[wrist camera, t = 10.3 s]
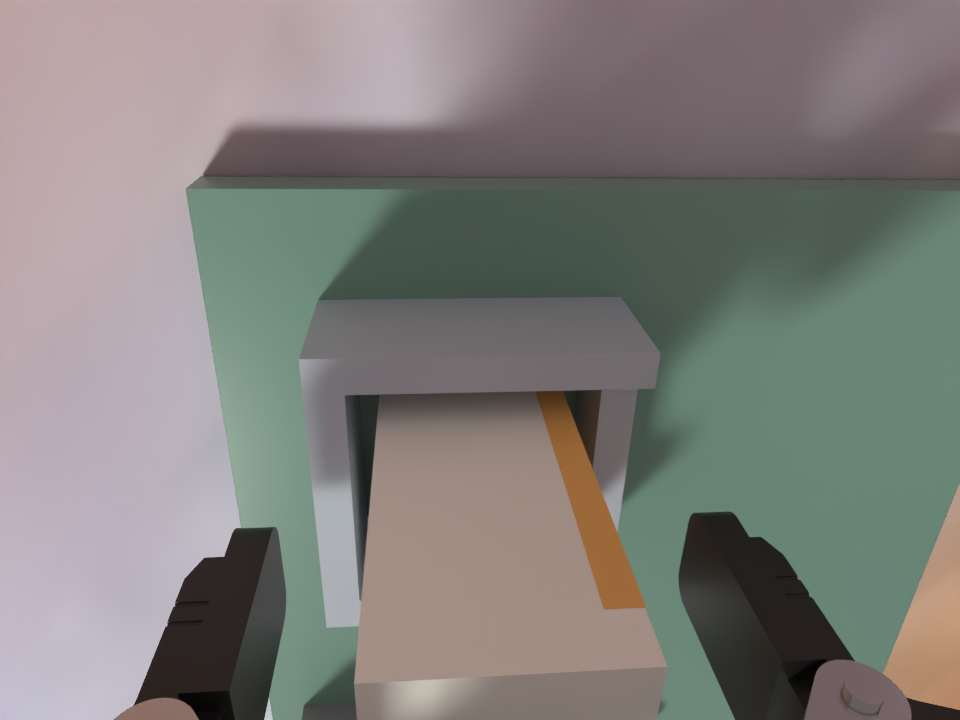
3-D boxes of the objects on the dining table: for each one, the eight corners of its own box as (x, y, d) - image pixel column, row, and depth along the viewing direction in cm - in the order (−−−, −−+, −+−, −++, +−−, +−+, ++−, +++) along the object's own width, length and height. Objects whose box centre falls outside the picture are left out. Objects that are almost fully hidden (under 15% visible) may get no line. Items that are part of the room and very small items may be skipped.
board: (1035, 180, 17) (1102, 198, 16) (809, 785, 28) (834, 835, 26) (201, 176, 16) (175, 197, 14) (300, 821, 26) (292, 877, 25)
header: (621, 296, 17) (660, 352, 14) (592, 530, 20) (620, 613, 17) (317, 299, 16) (298, 359, 13) (338, 540, 19) (326, 627, 16)
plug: (548, 355, 17) (668, 664, 9) (538, 490, 19) (630, 847, 11) (382, 357, 17) (353, 683, 9) (388, 495, 19) (369, 868, 11)
